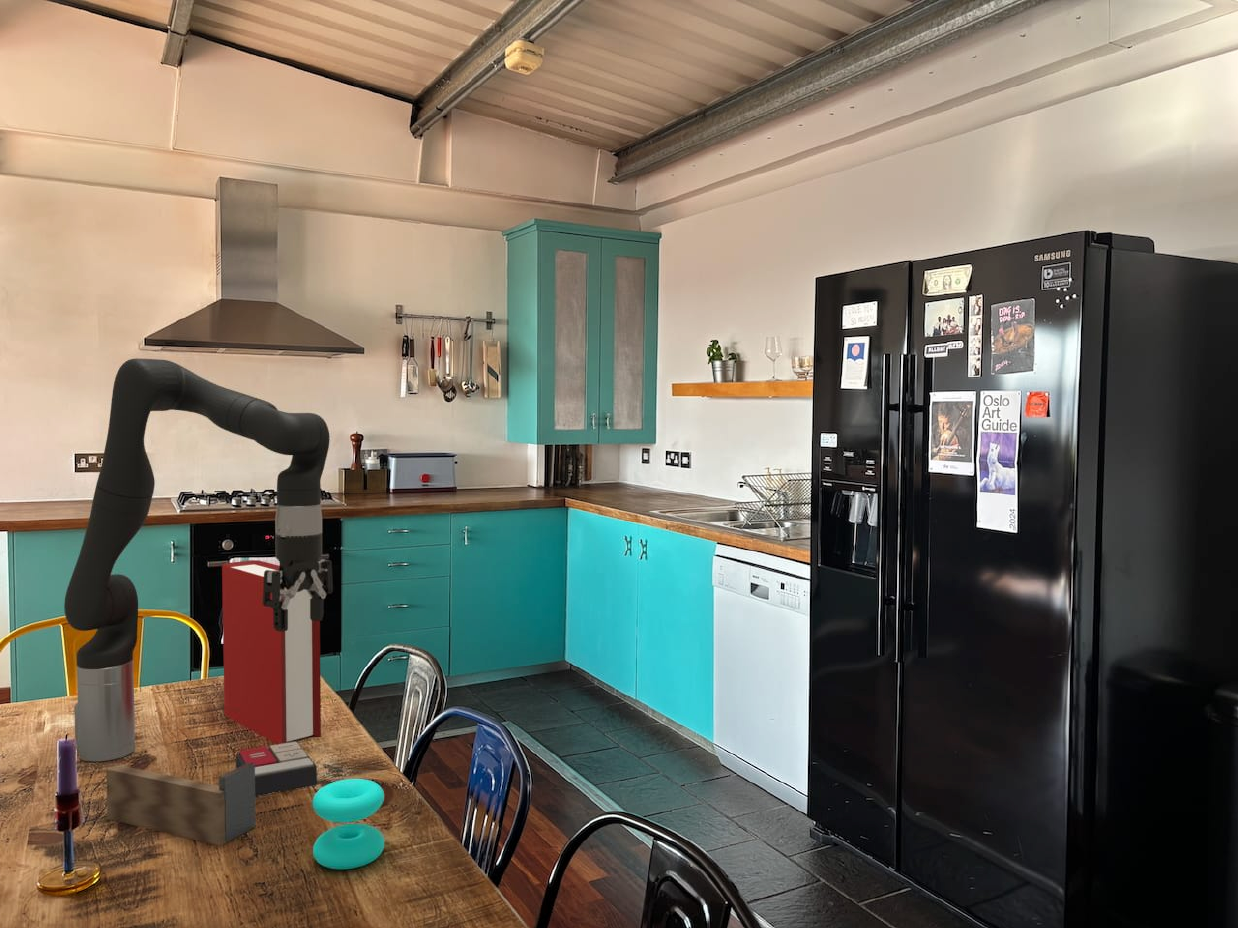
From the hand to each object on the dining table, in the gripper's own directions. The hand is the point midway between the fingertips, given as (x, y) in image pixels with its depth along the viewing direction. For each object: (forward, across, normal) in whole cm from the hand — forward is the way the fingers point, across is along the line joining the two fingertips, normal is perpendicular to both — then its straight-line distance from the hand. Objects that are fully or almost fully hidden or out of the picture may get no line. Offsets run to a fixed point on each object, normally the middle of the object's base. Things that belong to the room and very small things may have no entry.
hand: (299, 625), depth 160 cm
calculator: (+29, -2, -7) cm, 29 cm away
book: (+28, -22, -27) cm, 45 cm away
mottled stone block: (+28, +19, -7) cm, 34 cm away
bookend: (+28, +18, +4) cm, 34 cm away
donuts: (+28, +17, +24) cm, 41 cm away
